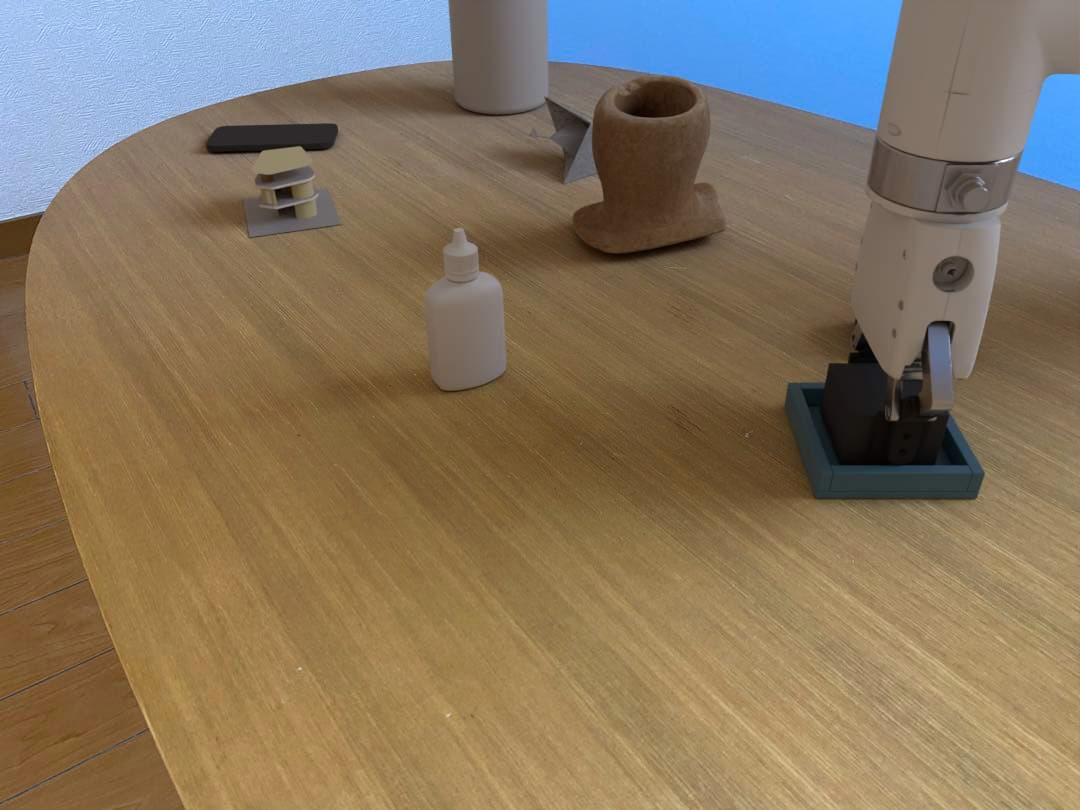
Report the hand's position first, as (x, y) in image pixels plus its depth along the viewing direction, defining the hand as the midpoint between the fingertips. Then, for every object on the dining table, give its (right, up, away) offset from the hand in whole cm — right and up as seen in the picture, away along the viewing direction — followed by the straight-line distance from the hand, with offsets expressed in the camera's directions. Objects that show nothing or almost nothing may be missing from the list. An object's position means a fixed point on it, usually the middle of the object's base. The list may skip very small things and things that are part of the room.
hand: (877, 430), depth 62 cm
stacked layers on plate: (-48, +21, +35) cm, 63 cm away
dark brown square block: (0, -1, 0) cm, 1 cm away
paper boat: (-19, +29, +45) cm, 57 cm away
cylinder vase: (-27, +42, +64) cm, 81 cm away
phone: (-55, +34, +52) cm, 83 cm away
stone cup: (-11, +17, +28) cm, 35 cm away
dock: (0, -1, +1) cm, 2 cm away
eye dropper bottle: (-28, +4, +9) cm, 29 cm away
